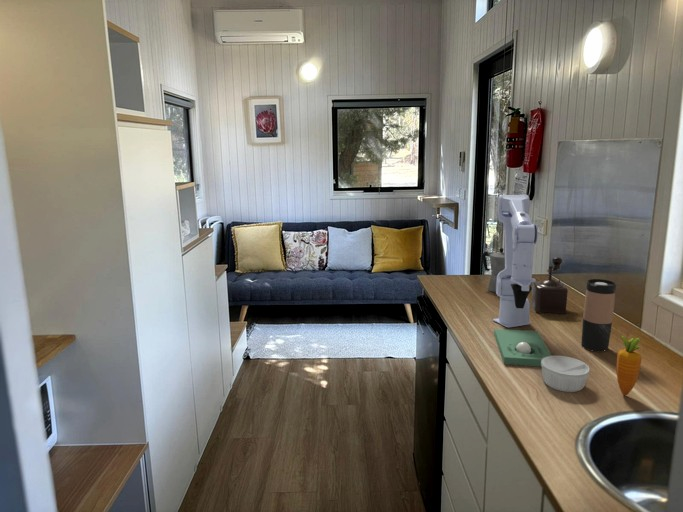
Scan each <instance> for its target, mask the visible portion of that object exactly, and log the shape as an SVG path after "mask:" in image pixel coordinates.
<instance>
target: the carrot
mask: <svg viewBox="0 0 683 512" xmlns="http://www.w3.org/2000/svg"><path fill="white" fill-rule="evenodd" d="M621 339H622V341H623V344H624V346H625V348H624V349H620V350H618V352H617V356H616V368H615V369H616V379H617V383H618V384H617V385H618V387H619V389H620V393H621V394H622V395H623V396H624V395H626V396H627V395H629V393H631V392H632V390H633V388H634V387H635V385H636V383H637V380H638V378H639V375H640V370H641V365H642V356H641V354H640V353H639V351H636V350H638V349H640V348H641V346H639V345H638V344H639V342H640V341H641V339H640V338H639V337H636V338H635V337H632V338H630V339H628V341H627V339H626V336H624V335H622V336H621Z"/></svg>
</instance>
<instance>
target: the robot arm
mask: <svg viewBox="0 0 683 512" xmlns="http://www.w3.org/2000/svg"><path fill="white" fill-rule="evenodd" d="M530 203H531V201H530V196H529V195H528V194H522V195H521V194H499V195H498V197H497V213H496V214H497V215H496V216H497V220H498V221H499V222H500V223H502V225H503V229H504V253H505V269H504V270H502V271H501V272H499V273H498V275H497V282H496V293H495V294H496V295H497V297H499V309H498V310H499V311H498V318H493V319H492V321H494V323H498V324H499V325H501V326H503V327H506V328H509V329H510V328H515V327H522V326H527V325H531V322H530V313H531V312H530V311H531V304H530V300H529V299H528V297H529V295H530V292H532V285H531V284H533V282H536V281H537V280H536V278H533V277H532V276H533V268H534V267H533V266H534V253H535V245H536V244H537V242H538V233H539V231H538V226H537V223H536V224H535V223H532V220H531V217H530V215H529V214H528V213H529V211H530V206H531V205H530Z"/></svg>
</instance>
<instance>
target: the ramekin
mask: <svg viewBox="0 0 683 512" xmlns="http://www.w3.org/2000/svg"><path fill="white" fill-rule="evenodd" d="M540 367H541V372H542V380H543V382H544V383H545V384H546V386H548V387H549V388H551V389H553V390H557V391H562V392H564V393H565V392H568V393H574V392H575V393H576V392H580V391H581V390H583V388H584V387H585V385H586V384H587V380H588V377H589V375H590V372H591V370H590V366H589V365H587V363H585V362H583V361H582V360H579V359H577V358H574V357H571V356H565V355H552V356H548V357H545V358H543V359H542V360H541V366H540Z"/></svg>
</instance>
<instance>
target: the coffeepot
mask: <svg viewBox="0 0 683 512" xmlns="http://www.w3.org/2000/svg"><path fill="white" fill-rule="evenodd" d="M503 251H504V248H503V247H499V252H493V251H484V252H483V253H482V254H481V260H482V264H483V268H484V270H485V271H486V272H490V271H491V275H490V279H489V283H488V288H487V290H488V291H489V292H491V293H495V294H496V282H497V275H498V273H499V272H501V271H502V270H504V269H505V252H503ZM486 256H487V257H489V261H490V268H488V262H487V257H486Z"/></svg>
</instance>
